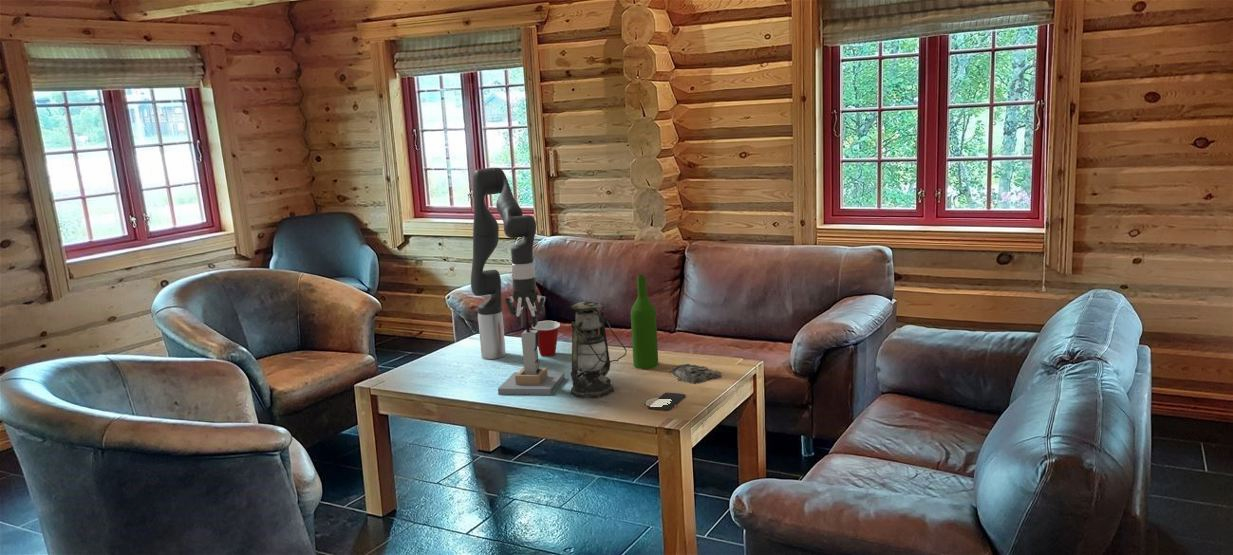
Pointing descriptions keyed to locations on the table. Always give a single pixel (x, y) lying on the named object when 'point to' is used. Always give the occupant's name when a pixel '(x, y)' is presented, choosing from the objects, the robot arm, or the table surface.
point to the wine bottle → (644, 329)
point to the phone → (675, 400)
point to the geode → (694, 373)
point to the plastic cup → (547, 337)
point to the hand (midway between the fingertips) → (527, 326)
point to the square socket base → (532, 383)
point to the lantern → (590, 352)
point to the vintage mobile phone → (530, 349)
